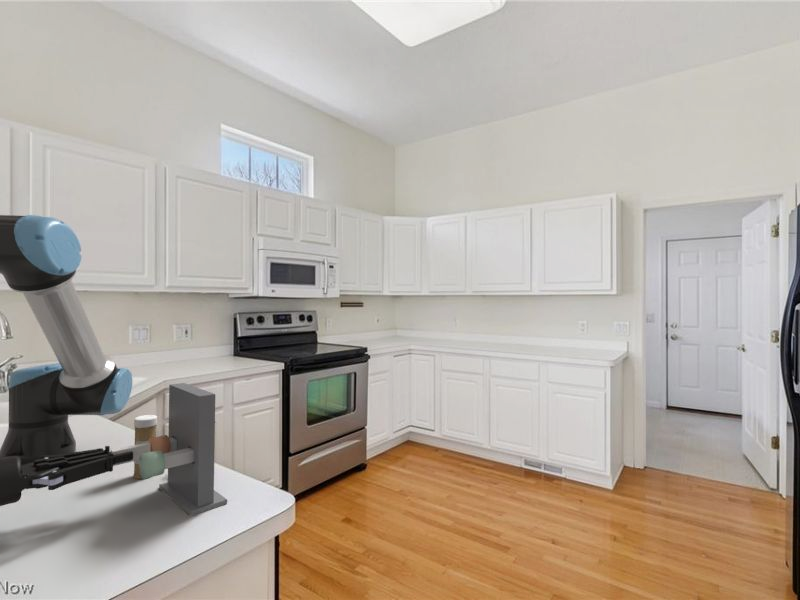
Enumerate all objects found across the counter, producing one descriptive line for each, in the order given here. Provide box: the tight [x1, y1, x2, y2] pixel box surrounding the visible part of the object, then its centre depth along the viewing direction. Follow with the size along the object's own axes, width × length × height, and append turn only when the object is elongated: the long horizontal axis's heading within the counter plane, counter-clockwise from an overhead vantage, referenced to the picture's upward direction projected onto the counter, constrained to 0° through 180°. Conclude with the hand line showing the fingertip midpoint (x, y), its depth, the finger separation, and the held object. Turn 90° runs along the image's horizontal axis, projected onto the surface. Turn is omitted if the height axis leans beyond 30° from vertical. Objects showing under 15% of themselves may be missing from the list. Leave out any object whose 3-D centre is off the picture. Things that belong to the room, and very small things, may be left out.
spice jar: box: [133, 414, 158, 479], centre depth 98 cm, size 5×5×14 cm
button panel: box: [158, 382, 228, 516], centre depth 89 cm, size 17×7×22 cm, turn 47°
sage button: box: [139, 447, 195, 480], centre depth 82 cm, size 4×12×4 cm, turn 137°
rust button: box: [147, 434, 177, 454], centre depth 91 cm, size 4×12×4 cm, turn 137°
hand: (149, 449), depth 87 cm, fingers closed
